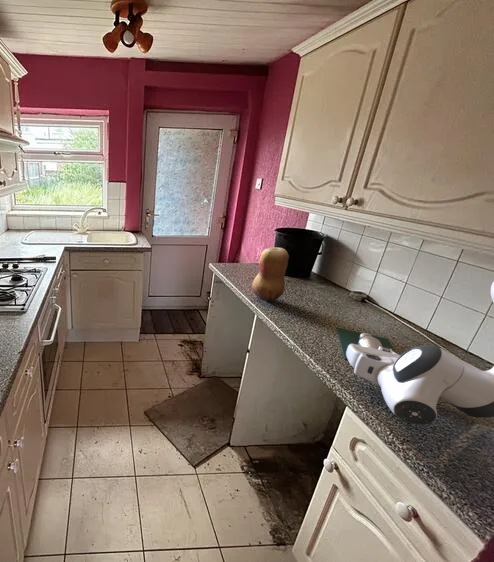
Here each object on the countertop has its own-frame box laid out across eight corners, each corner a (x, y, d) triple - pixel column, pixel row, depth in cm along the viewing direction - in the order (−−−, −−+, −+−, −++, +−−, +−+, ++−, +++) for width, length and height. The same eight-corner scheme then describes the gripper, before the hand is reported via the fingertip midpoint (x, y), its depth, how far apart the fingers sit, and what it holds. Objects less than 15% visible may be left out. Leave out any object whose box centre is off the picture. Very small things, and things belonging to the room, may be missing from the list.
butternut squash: (244, 294, 151) (254, 244, 142) (269, 293, 154) (280, 243, 145) (261, 306, 139) (273, 252, 129) (288, 305, 141) (301, 252, 132)
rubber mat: (406, 375, 96) (406, 374, 96) (344, 359, 103) (344, 358, 102) (387, 339, 116) (387, 338, 115) (336, 328, 122) (336, 327, 122)
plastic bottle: (363, 365, 94) (350, 332, 110) (374, 383, 94) (359, 348, 111) (389, 359, 90) (371, 326, 107) (400, 377, 91) (381, 342, 107)
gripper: (453, 378, 77) (433, 351, 89) (354, 353, 86) (348, 331, 98) (443, 398, 80) (424, 369, 91) (347, 372, 88) (342, 348, 100)
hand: (384, 349), depth 94 cm, fingers closed
